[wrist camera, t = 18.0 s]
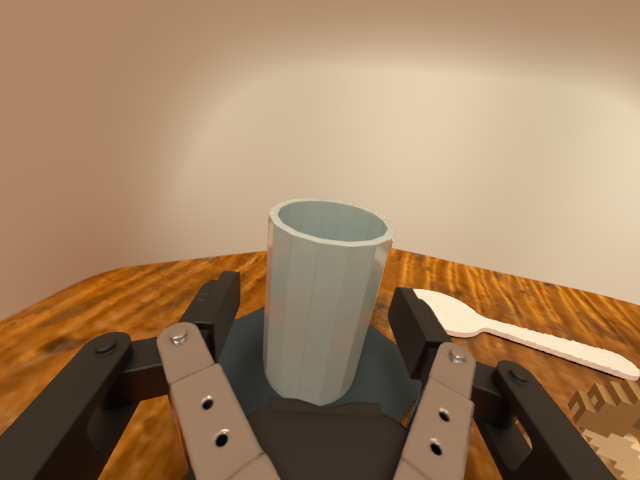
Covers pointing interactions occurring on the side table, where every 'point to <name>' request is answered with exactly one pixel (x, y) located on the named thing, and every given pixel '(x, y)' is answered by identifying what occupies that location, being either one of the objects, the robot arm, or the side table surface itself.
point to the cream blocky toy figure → (609, 425)
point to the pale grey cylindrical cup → (320, 294)
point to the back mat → (368, 386)
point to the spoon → (523, 336)
